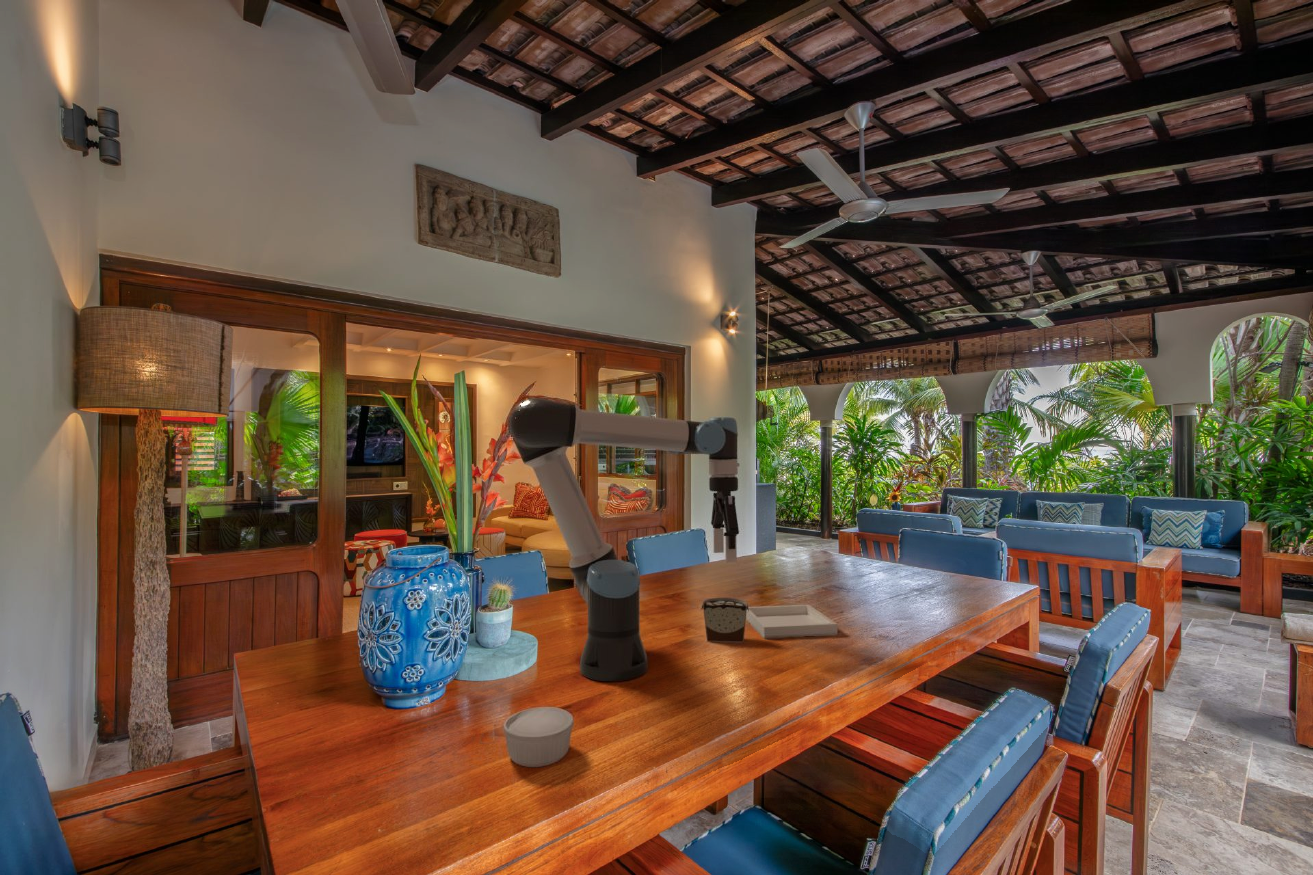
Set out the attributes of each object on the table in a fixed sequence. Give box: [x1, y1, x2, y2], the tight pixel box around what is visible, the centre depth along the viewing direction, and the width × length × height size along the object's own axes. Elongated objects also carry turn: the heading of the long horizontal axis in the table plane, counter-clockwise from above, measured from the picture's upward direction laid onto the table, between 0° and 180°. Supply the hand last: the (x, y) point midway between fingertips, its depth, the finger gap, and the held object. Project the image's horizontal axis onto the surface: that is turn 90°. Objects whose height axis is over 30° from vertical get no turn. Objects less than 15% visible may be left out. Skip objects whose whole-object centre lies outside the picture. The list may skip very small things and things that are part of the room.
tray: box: [746, 604, 839, 640], centre depth 164 cm, size 20×20×3 cm
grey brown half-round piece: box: [700, 597, 749, 643], centre depth 154 cm, size 12×6×10 cm, turn 84°
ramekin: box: [503, 706, 574, 768], centre depth 95 cm, size 11×11×5 cm
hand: (724, 557), depth 154 cm, fingers open, 13 cm apart
